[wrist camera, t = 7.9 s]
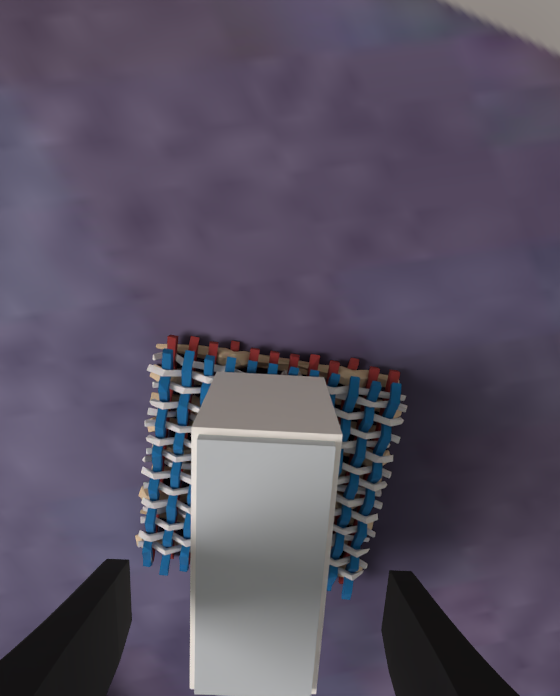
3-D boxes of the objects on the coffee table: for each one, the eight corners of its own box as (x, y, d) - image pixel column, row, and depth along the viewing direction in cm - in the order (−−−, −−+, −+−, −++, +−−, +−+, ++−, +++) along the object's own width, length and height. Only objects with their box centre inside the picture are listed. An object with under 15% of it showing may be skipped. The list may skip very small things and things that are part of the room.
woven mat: (408, 362, 18) (424, 377, 16) (356, 571, 21) (364, 606, 19) (159, 322, 18) (144, 333, 16) (138, 541, 20) (123, 574, 18)
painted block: (323, 377, 16) (344, 439, 11) (306, 577, 18) (316, 703, 13) (216, 371, 16) (189, 432, 11) (212, 573, 18) (187, 698, 13)
